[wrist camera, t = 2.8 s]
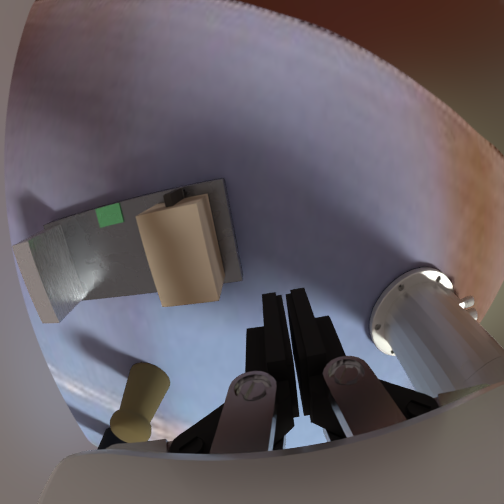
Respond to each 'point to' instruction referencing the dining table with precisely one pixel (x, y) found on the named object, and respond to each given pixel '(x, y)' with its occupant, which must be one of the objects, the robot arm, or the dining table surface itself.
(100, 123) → the dining table surface
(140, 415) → the olive brown pawn
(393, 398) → the robot arm
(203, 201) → the block
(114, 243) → the gauge rail
